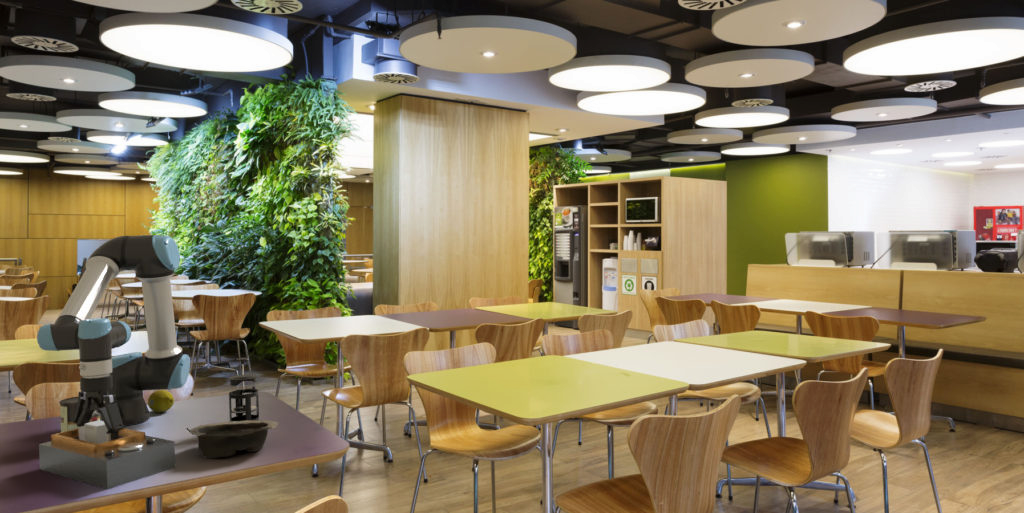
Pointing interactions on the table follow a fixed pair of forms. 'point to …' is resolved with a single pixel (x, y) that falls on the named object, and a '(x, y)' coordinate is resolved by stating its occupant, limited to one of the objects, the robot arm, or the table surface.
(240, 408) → the french press
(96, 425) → the skincare box
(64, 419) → the coffee can
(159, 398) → the lemon
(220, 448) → the stone bowl
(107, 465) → the grey open box
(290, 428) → the table surface
